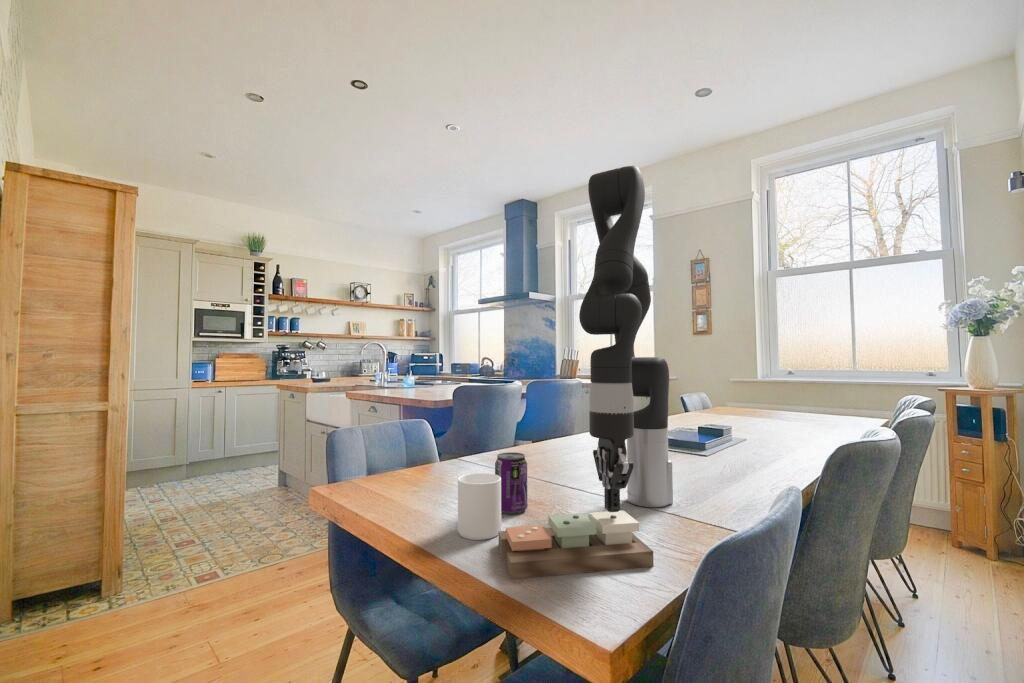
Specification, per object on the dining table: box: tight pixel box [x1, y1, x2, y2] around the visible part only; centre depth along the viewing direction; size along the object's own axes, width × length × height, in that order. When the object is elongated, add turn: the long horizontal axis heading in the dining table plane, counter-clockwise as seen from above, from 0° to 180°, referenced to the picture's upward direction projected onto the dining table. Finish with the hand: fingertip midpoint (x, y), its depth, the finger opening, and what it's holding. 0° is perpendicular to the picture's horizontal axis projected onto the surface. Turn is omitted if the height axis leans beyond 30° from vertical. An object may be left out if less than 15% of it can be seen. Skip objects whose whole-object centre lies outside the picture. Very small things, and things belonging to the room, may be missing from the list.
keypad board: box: [498, 527, 655, 580], centre depth 79 cm, size 23×13×2 cm, turn 100°
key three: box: [505, 524, 552, 552], centre depth 78 cm, size 6×6×4 cm
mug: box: [457, 472, 502, 541], centre depth 91 cm, size 12×8×10 cm
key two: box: [547, 512, 596, 548], centre depth 79 cm, size 6×6×4 cm
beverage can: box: [494, 451, 529, 515], centre depth 103 cm, size 7×7×12 cm
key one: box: [588, 509, 640, 545], centre depth 80 cm, size 6×6×4 cm
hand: (612, 510), depth 80 cm, fingers closed
